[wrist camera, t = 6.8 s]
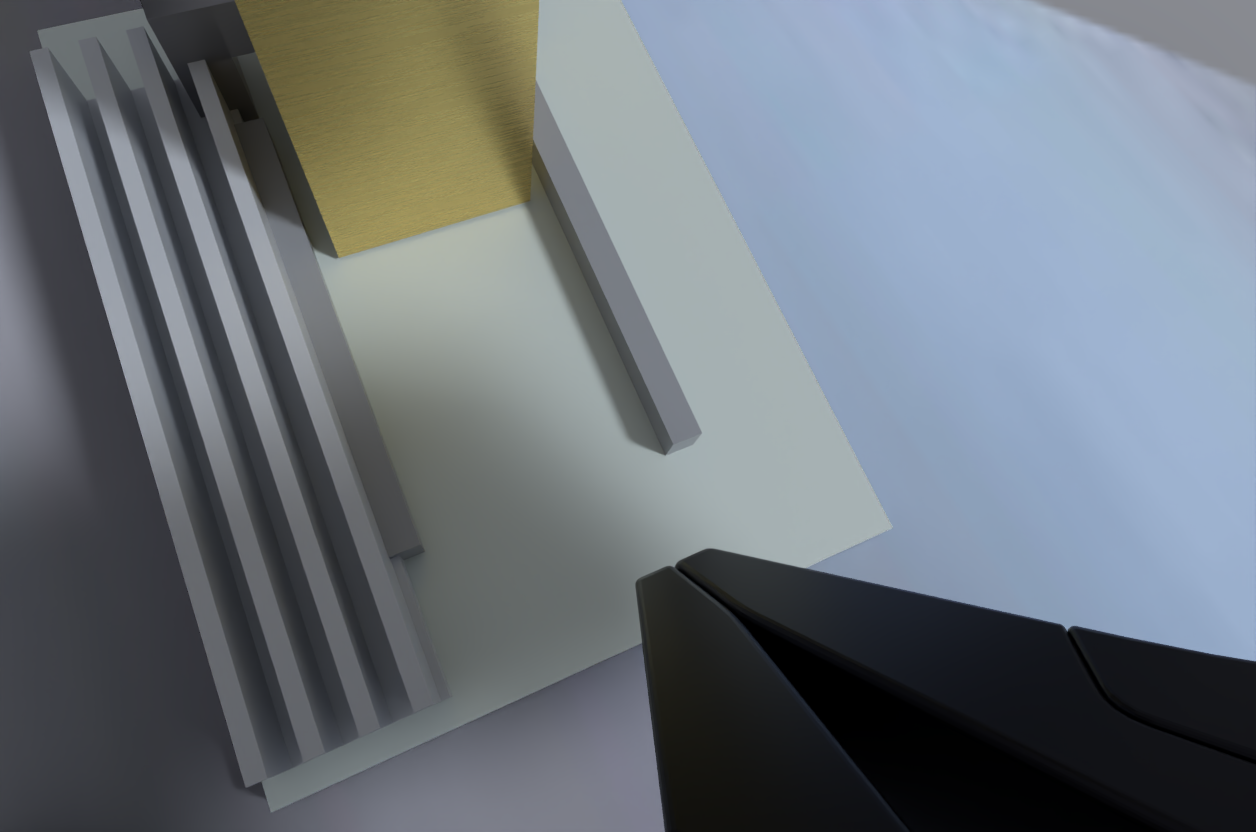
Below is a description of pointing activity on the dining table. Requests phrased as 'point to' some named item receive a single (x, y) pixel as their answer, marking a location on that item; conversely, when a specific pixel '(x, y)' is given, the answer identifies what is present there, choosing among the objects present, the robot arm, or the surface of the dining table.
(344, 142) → the yellow rectangular block
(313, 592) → the socket board
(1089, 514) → the dining table surface
